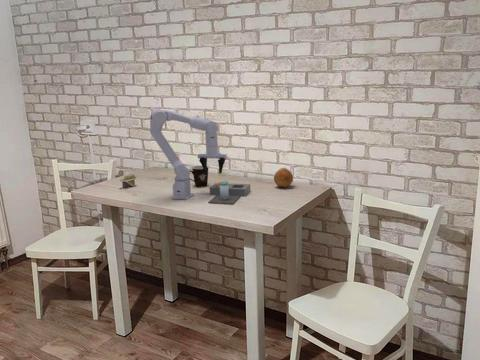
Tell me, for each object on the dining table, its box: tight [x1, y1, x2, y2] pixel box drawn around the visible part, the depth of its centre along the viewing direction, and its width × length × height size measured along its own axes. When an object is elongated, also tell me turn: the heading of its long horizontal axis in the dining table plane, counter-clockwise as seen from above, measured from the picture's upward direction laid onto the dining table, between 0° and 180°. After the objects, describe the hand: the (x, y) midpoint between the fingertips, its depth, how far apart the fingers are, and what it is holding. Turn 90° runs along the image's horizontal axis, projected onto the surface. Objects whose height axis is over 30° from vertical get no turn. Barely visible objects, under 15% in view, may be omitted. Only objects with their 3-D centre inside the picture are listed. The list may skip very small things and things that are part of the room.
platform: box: [119, 174, 138, 189], centre depth 244 cm, size 12×18×7 cm, turn 141°
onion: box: [273, 167, 294, 189], centre depth 233 cm, size 10×10×10 cm
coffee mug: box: [189, 165, 209, 188], centre depth 242 cm, size 12×9×10 cm
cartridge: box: [219, 181, 229, 200], centre depth 214 cm, size 4×4×8 cm
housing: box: [209, 182, 251, 197], centre depth 227 cm, size 10×18×4 cm, turn 75°
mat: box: [207, 195, 241, 206], centre depth 215 cm, size 12×12×1 cm
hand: (213, 172), depth 225 cm, fingers open, 7 cm apart
